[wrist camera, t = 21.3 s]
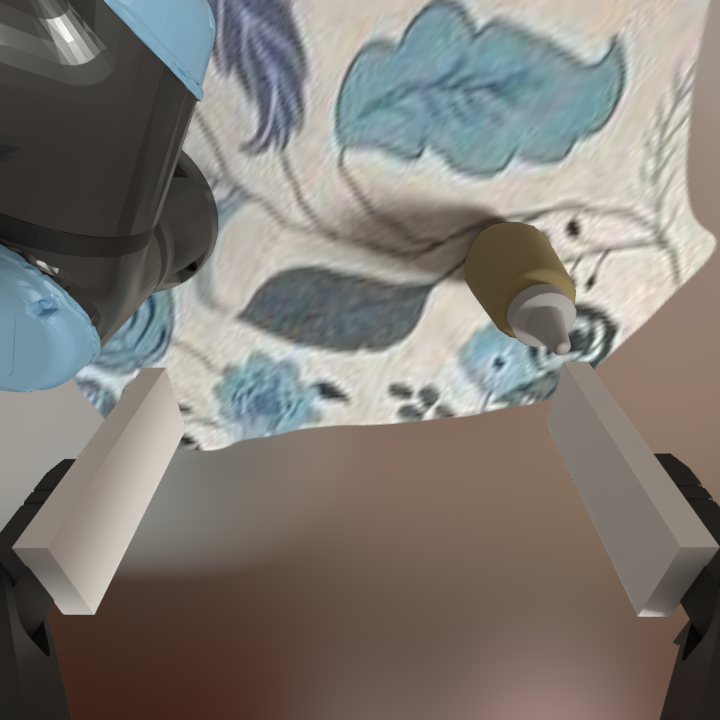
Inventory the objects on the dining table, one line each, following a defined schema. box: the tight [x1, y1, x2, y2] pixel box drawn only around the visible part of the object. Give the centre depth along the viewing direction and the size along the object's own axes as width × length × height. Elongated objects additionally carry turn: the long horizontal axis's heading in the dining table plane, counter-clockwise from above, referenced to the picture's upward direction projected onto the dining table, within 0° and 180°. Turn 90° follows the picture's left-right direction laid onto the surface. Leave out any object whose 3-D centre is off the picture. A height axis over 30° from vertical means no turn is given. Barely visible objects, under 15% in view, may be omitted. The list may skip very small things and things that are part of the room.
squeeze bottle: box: [464, 222, 576, 355], centre depth 38 cm, size 8×8×18 cm
